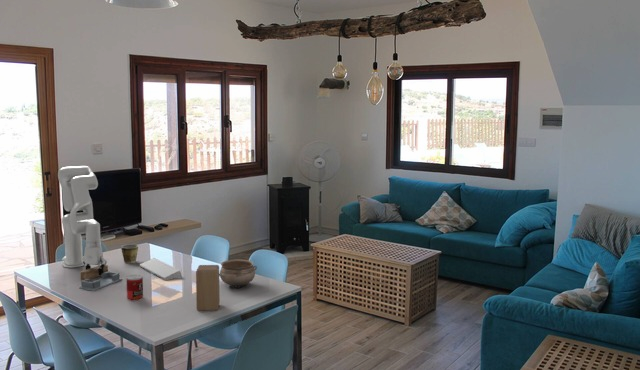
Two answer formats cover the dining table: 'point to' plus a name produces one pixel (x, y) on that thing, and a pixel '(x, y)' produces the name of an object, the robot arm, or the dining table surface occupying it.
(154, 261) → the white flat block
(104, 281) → the board
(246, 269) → the cooking pot
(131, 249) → the ceramic cup
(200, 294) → the wooden block
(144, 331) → the dining table surface
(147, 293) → the dining table surface
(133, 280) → the canned food
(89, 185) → the robot arm
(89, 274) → the slat
